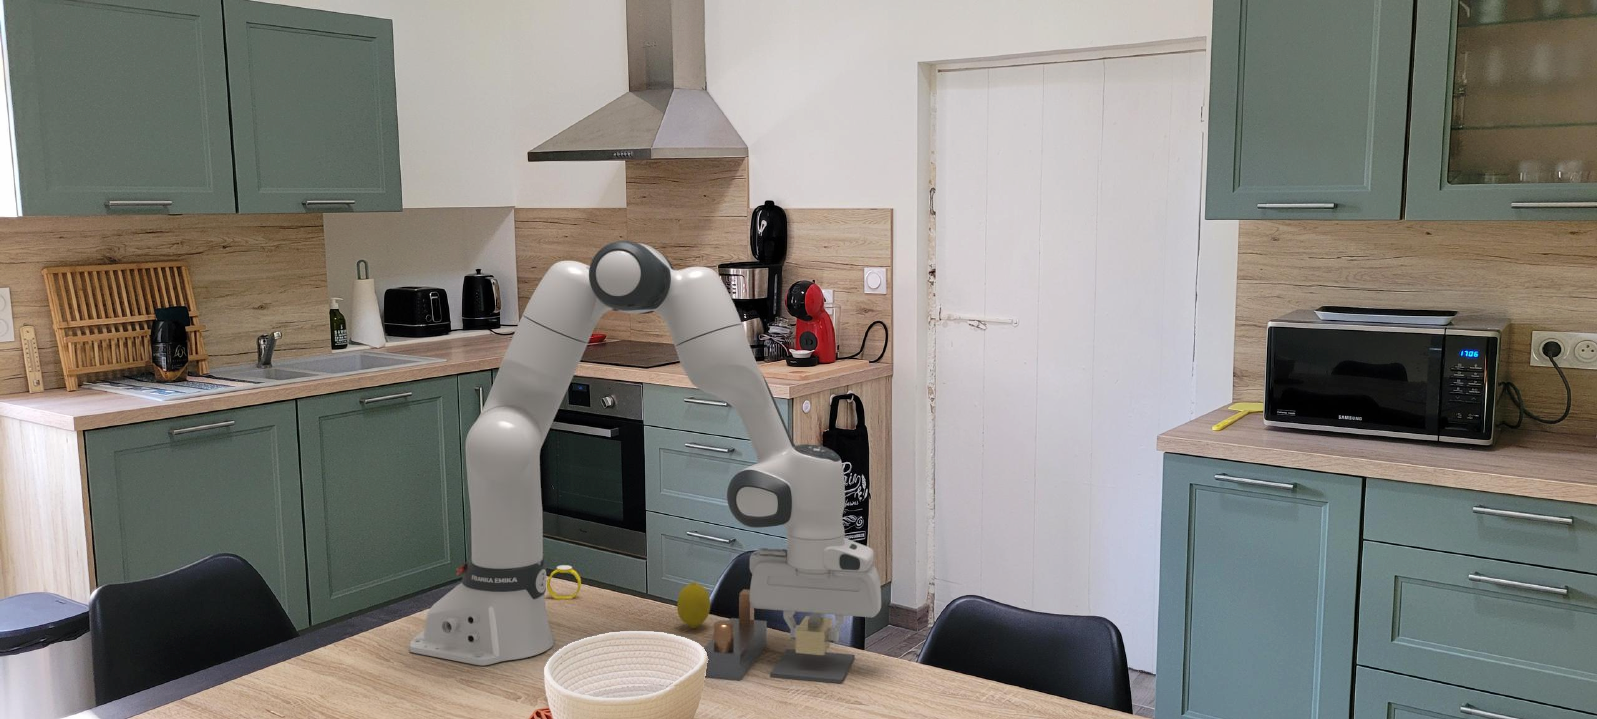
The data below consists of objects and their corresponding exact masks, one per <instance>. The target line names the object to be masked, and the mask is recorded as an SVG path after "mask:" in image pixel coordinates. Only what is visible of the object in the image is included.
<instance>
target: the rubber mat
mask: <svg viewBox="0 0 1597 719" xmlns="http://www.w3.org/2000/svg"><path fill="white" fill-rule="evenodd" d="M855 656H856V655H855V654H850V653H838V652H829V651H826V653H825V655H816V654H804V653H796V648H795V649H794V648H786V649H785V651H784V652H783V654H782V655H781V656H780V658H779V660H778V661H777V663H776V664H775V665H774V667H773V669H772V670H771V671H770V673H769V675H770V676H769V677H770V678H776V679H777V678H779V679H789V680H797V681H809V682H819V683H829V684H830V683H831V684H839V685H842V684H843V683H844V681H845V679H846V676H847V674H849V671H850V669H851V666H852V665H853V663H854V661H855V659H856V658H855Z"/></svg>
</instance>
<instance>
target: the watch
mask: <svg viewBox="0 0 1597 719" xmlns="http://www.w3.org/2000/svg"><path fill="white" fill-rule="evenodd" d="M557 573H561V574H565V573H570V574H571V575H573V576H574V577H575V579H576V580H577V589H576V592H574V593H573V594H572V595H558V594H557V593H556V592H554V591H553V589H552V586H551V580H552V577H553V576H554V575H555V574H557ZM581 587H582V578H581V576H580V574H578V572H577V571H576V570H574V569H573V566H571V565H568V564H567V565H566V564H565V565H564V564H562V565H557V566H556V569H555V570H553V571H552V572H551V573H550V575H549V577H548V579H547V580H546V588H547V592H548V594H549V595H550V596H551V597H552V598H553V599H555V600H573V599H574V598H576V596H577V595H578V594H579V592H580V590H581Z"/></svg>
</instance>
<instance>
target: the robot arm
mask: <svg viewBox="0 0 1597 719" xmlns="http://www.w3.org/2000/svg"><path fill="white" fill-rule="evenodd" d="M609 311H615V312H621V313H625V314H630V315H631V314H632V315H636V314H637V315H638V314H639V315H645V314H646V315H647V314H652V313H657V314H658V315H660V317H662V319H663V321H664V322H665V324H666V325H667V328H668V330H669V333H670V336H671V339H672V342H673V344H674V347H675V348H674V349H675V351H676V354H677V358H678V360H679V363H680V364H681V365H680V366H681V367H682V369H683V371H684V373H685V375H686V377H687V378H688V379H689V382H690V383H691V384H692V385H693V386H694V387H696V388H697V389H699V390H701V391H702V392H704V393H706V394H709V395H711V396H714V397H717V398H719V399H721V400H723V401H724V402H725V403H727V404H729V405H730V406H731V407H732V408H733V409H734V410H735V412H737V415H738V417H739V418H740V420H741V422H742V425H743V427H744V429H745V432H746V434H747V437H748V438H749V441H750V442H751V446H752V448H753V450H754V453H755V454H756V459H757V460H756V462H757V463H754V464H753V465H750V466H747V467H746V468H744V469H742V470H740V471H739V472H737V473H736V474H735V475H734V476H733V477H732V478H731V480H730V482H729V483H728V487H727V491H726V499H727V500H726V501H727V505H728V508H729V511H730V512H731V514H732V515H733V517H734V518H735V519H736V520H737V521H738V522H739V523H740V524H742V525H744V526H746V527H749V528H754V529H757V528H758V529H759V528H760V529H761V528H771V527H772V528H773V527H777V526H784V527H785V528H786V548H785V549H784V548H782V549H781V548H776V549H775V548H774V549H773V548H772V549H771V548H767V547H761V548H758V550H755V551H753V552H752V553H751V555H750V556H749V570H750V573H751V574H752V575H751V581H750V588H749V590H750V598H749V601H750V603H751V605H752V606H753V607H754V609H758V610H759V609H760V610H771V611H782V614H783V616H782V617H783V620H784V621H785V623H786V624H787V626H788V627H789V629H790V633H789V635H790V639H791V640H792V639H793V640H796V629H797V628H798V626H799V625H800V624H797V622H796V620H795V618H794V615H795V613H796V612H797V613H811V614H812V613H820V614H824V615H833V616H834V621H835V622H837V623H836V625H835V627H833V628H829V630H828V642H831V643H838V642H839V640H840V630H841V629H840V628H842V626H843V624H844V622H846V621H845V620H846V619H847V616H850V617H859V618H860V617H862V618H874V617H875V616H877V615H878V614H879V613H880V611H881V608H882V590H881V582H880V581H881V580H880V575H879V572H878V570H877V568H876V567H875V566H874V565H873V563H874V557H875V554H874V553H875V552H874V550H873V548H872V547H869V546H867V545H864V544H861V543H859V542H856V541H854V540H851V539H848V538H847V537H845V536H846V535H845V533H846V532H845V527H844V524H843V514H844V510H845V506H846V489H845V474H844V467H843V463H842V459H841V457H840V456H839V455H838V454H837V453H836V452H835V451H834V450H832V449H830V448H828V447H825V446H822V445H817V444H807V443H805V444H804V443H803V444H798V445H796V444H795V442H794V440H793V438H792V436H791V434H790V432H789V430H788V428H787V425H786V423H785V421H784V418H783V416H782V414H781V411H780V409H779V407H778V404H777V402H776V399H775V397H774V395H773V393H772V390H771V388H770V386H769V384H768V382H767V380H766V378H765V377H764V375H763V372H762V370H761V368H760V366H759V365H758V363H757V361H756V357H755V356H754V353H753V351H752V347H751V346H750V343H749V340H748V337H747V335H746V332H745V330H744V326H743V324H742V321H741V317H740V315H739V312H738V311H737V308H736V306H735V303H734V300H733V299H732V297H731V295H730V293H729V291H728V289H727V287H726V285H725V284H724V282H723V280H722V278H721V277H720V275H719V274H718V273H717V272H716V271H715V270H713V269H712V268H709V267H705V266H689V267H686V268H683V269H682V268H681V269H678V270H677V269H674V266H673V265H672V262H670V260H669V259H668V257H666V256H665V255H664V254H663V253H661V252H659V251H658V250H657V249H656V248H654V247H652V246H650V245H647V244H645V243H640V242H636V241H632V240H625V239H624V240H618V241H616V240H615V241H612V242H609V243H608V244H606V245H604V246H603V247H601V248H600V249H599V250H598V251H597V252H596V253H595V254H594V256H593V258H592V260H591V262H590V264H589V265H588V264H586V263H583V262H580V261H576V260H561V261H557V262H556V263H554V264H552V265H551V266H550V268H549V269H548V270H547V272H545V273H544V276H543V277H542V279H541V280H540V282H539V283H538V285H537V286H536V288H535V290H534V292H532V294H531V296H530V298H529V300H528V302H527V305H526V307H525V309H524V311H523V313H522V315H521V318H520V320H519V322H518V325H517V327H516V329H515V332H514V333H513V335H512V338H511V340H510V343H509V344H508V347H507V349H506V352H505V353H504V356H503V358H502V360H501V363H500V366H499V369H498V371H497V373H496V376H495V379H494V381H493V384H492V386H491V388H490V390H489V393H488V396H487V399H486V401H485V403H484V405H483V408H482V409H481V412H480V414H479V416H478V417H477V419H476V421H475V422H474V423H473V424H472V426H471V428H470V429H469V431H468V433H467V435H466V439H465V445H464V446H465V461H466V462H465V463H466V464H465V466H466V476H467V478H466V479H467V488H468V497H469V506H470V522H471V523H470V524H471V525H470V526H471V527H470V528H471V529H470V530H471V532H470V533H471V534H470V535H471V538H470V539H471V558H470V559H469V560H468V561H466V562H463V563H462V565H461V566H459V567H458V568H456V571H457V572H456V576H460V575H461V574H462V579H461V582H460V583H459V584H458V585H456V586H455V587H454V588H453V589H451V590H450V591H449V592H447V593H446V594H445V595H443V597H441V598H440V599H439V600H437V601H436V602H434V603H433V605H432V606H431V607H430V609H429V611H428V612H427V615H426V619H425V623H424V630H423V631H421V632H420V633H418V634H417V635H415V637H413V638H412V639H411V641H410V643H409V652H410V653H413V654H419V655H424V656H428V657H429V656H430V657H434V658H439V659H445V660H449V661H455V662H460V663H465V664H469V665H470V664H471V665H476V666H489V665H493V664H497V663H501V662H506V661H513V660H520V659H525V658H528V657H534V656H537V655H539V654H541V653H544V652H546V651H548V650H549V649H550V648H552V647H553V646H554V644H555V639H554V636H553V634H552V631H551V626H550V621H549V618H548V616H549V615H548V610H547V604H546V603H547V602H546V595H545V593H546V591H547V590H546V588H547V567H546V566H547V565H546V563H547V562H546V557H545V556H544V553H543V552H544V550H543V549H544V548H543V546H544V545H543V542H544V541H543V540H544V538H543V535H544V533H543V532H544V530H543V523H544V522H543V504H542V503H543V502H542V488H541V465H540V464H541V460H540V459H541V458H540V455H541V449H542V446H543V444H544V442H545V440H546V438H547V435H548V433H549V431H550V428H551V426H552V424H553V421H554V419H555V418H556V415H557V413H558V410H559V409H560V406H561V405H562V401H563V400H564V397H565V395H566V393H567V391H568V390H569V386H570V384H571V382H572V380H573V378H574V376H575V373H576V371H577V368H578V367H579V364H580V362H581V360H582V358H583V356H584V353H585V350H586V348H587V346H588V344H589V342H590V340H591V337H592V334H593V332H594V329H595V327H596V326H597V324H598V322H599V321H600V319H601V318H602V316H603V315H604V314H605V313H607V312H609Z"/></svg>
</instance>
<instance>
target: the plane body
mask: <svg viewBox="0 0 1597 719" xmlns="http://www.w3.org/2000/svg"><path fill="white" fill-rule="evenodd" d="M738 598H739V599H738V602H739V603H738V618H735V617H731V618H730V619H729V620H727V619H726V620H725V619H724V620H723V619H722V620H716V621H715V622H713V638H712V639H711V640H710V641H709V642H708V643H707V644H706V646H704V648H703V649H705V651H706V652H707V656H708V659H709V660H708V663H707V669H706V677H705V678H710V679H711V678H712V679H719V680H720V679H722V680H729V681H730V680H731V681H732V680H733V681H741V680H742V678H743V677H744V676H745V674H746V673H747V671H748V670H749V669H750V668H751V666H752V665H753V664H754V662H755V661H756V660H757V658H759V656H760V654H761V653H762V651H763V650H764V649H765V647H766V646H767V637H768V636H767V627H768V626H767V624H768V622H767V620H761V619H755V608H754V607H753V606H752V605H751V603H750V601H749V598H750V589H745V588H744V589H742V590H741V591H740V592H739V593H738Z"/></svg>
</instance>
